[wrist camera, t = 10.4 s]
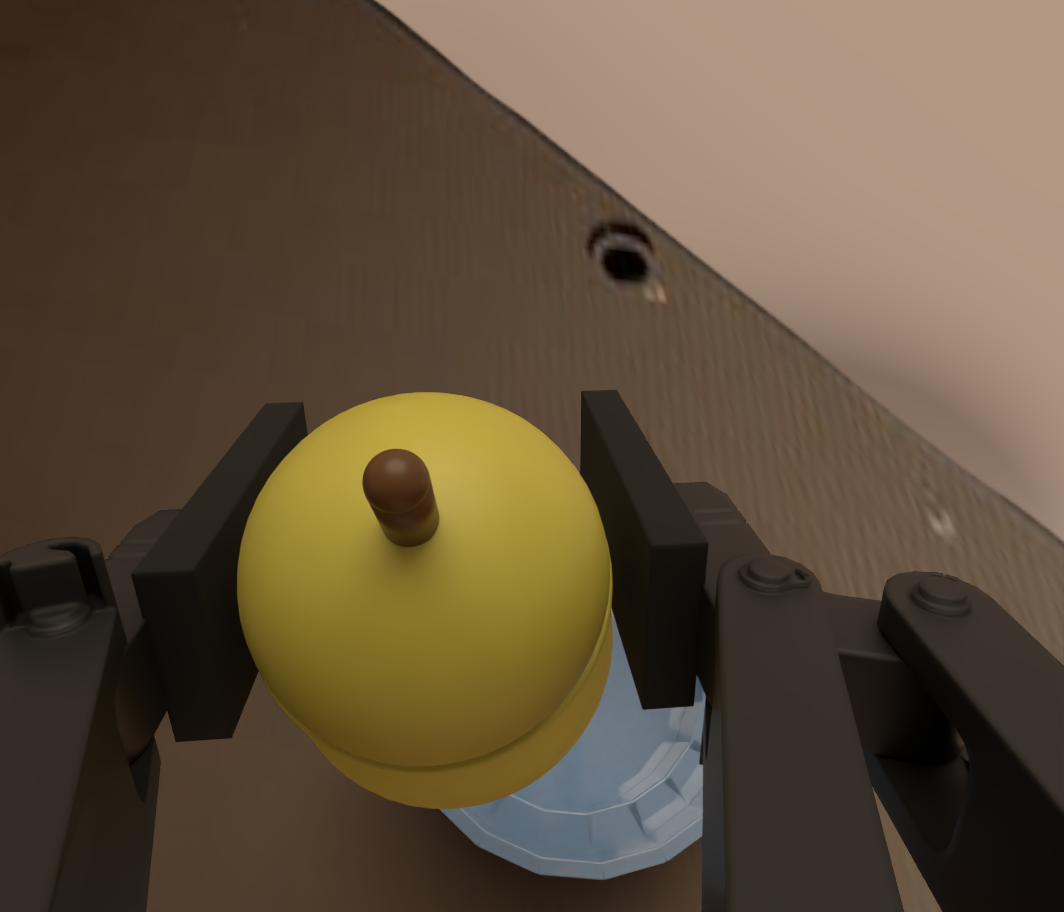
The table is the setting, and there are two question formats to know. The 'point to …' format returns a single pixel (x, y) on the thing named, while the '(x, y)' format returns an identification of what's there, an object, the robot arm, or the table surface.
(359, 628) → the pear
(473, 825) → the bowl
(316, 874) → the table surface
